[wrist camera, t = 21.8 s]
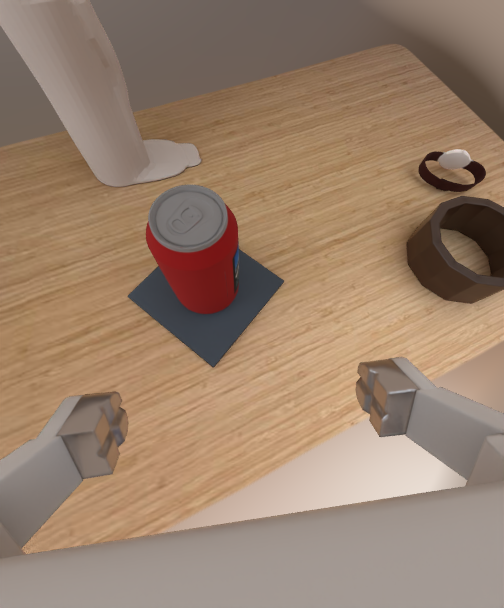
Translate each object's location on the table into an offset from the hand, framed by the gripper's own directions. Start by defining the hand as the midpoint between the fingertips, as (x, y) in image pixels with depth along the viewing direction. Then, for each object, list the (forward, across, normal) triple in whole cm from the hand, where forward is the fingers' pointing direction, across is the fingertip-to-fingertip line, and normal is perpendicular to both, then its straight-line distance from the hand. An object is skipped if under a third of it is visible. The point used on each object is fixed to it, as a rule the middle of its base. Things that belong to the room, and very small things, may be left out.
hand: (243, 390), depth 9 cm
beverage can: (+21, +3, +4) cm, 22 cm away
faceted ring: (+22, -26, +4) cm, 35 cm away
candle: (+35, +9, -9) cm, 37 cm away
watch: (+31, -30, -4) cm, 43 cm away
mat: (+21, +3, +4) cm, 22 cm away
